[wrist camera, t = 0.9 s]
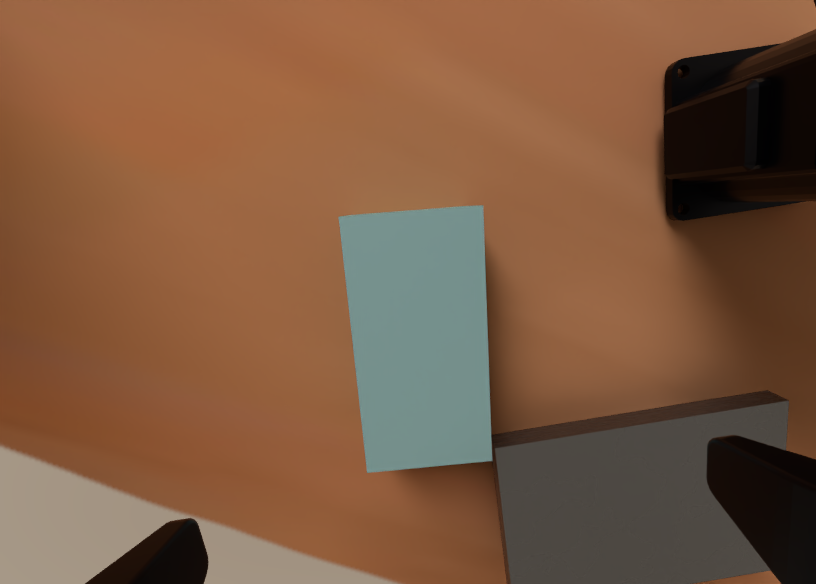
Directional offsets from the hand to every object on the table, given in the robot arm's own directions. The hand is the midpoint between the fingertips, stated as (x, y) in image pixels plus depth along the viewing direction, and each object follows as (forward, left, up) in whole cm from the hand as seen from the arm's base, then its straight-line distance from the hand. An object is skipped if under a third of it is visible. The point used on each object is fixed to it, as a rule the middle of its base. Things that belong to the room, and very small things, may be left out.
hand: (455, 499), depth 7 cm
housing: (0, 0, -12) cm, 12 cm away
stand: (-9, +10, -12) cm, 18 cm away
